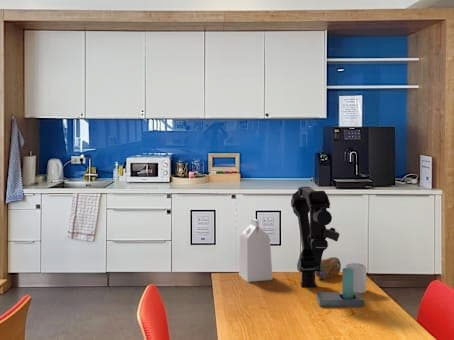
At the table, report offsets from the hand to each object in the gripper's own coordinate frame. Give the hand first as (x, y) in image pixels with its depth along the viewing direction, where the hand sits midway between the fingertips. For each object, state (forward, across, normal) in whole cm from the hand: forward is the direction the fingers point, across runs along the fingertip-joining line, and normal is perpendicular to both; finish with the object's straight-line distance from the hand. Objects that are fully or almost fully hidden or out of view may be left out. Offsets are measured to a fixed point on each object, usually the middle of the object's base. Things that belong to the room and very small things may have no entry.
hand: (317, 262), depth 230 cm
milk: (+12, +28, +25) cm, 40 cm away
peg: (+14, -11, -10) cm, 20 cm away
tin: (+12, +29, -7) cm, 32 cm away
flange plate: (+14, -10, -7) cm, 18 cm away
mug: (+13, +8, -15) cm, 22 cm away
